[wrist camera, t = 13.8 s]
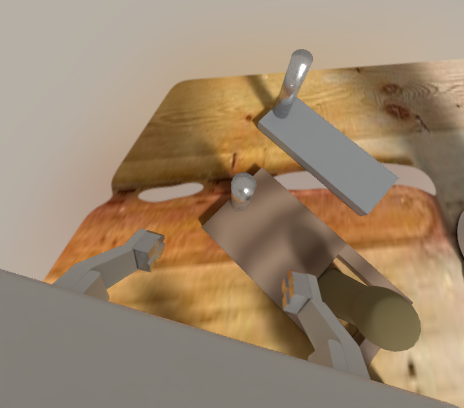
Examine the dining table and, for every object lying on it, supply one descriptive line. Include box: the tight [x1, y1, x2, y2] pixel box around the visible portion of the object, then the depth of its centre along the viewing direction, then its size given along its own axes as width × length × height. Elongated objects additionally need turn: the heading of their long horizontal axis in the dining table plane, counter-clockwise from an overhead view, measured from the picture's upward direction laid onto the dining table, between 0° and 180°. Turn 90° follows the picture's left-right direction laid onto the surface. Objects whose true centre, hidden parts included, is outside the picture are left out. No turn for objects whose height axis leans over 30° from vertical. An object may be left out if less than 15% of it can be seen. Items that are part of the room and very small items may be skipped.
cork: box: [317, 268, 421, 352], centre depth 20 cm, size 6×6×11 cm
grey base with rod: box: [257, 49, 398, 216], centre depth 25 cm, size 22×8×11 cm, turn 45°
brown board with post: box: [202, 168, 413, 368], centre depth 21 cm, size 28×13×11 cm, turn 45°
